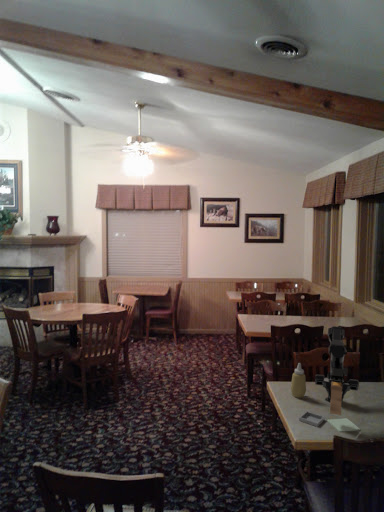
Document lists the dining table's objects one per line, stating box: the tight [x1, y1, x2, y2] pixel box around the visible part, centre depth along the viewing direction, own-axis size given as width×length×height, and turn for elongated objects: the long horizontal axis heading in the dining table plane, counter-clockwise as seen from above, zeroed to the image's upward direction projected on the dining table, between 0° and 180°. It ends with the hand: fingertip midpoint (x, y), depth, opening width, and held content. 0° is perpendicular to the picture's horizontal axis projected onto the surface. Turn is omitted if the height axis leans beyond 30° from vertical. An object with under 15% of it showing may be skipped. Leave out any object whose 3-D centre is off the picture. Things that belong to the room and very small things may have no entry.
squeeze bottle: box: [290, 362, 307, 399], centre depth 206 cm, size 8×8×18 cm
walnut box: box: [329, 382, 343, 416], centre depth 174 cm, size 4×4×13 cm
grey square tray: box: [298, 410, 325, 428], centre depth 179 cm, size 9×9×2 cm
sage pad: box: [326, 417, 361, 433], centre depth 175 cm, size 10×10×1 cm
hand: (336, 400), depth 173 cm, fingers closed on walnut box, 4 cm apart
